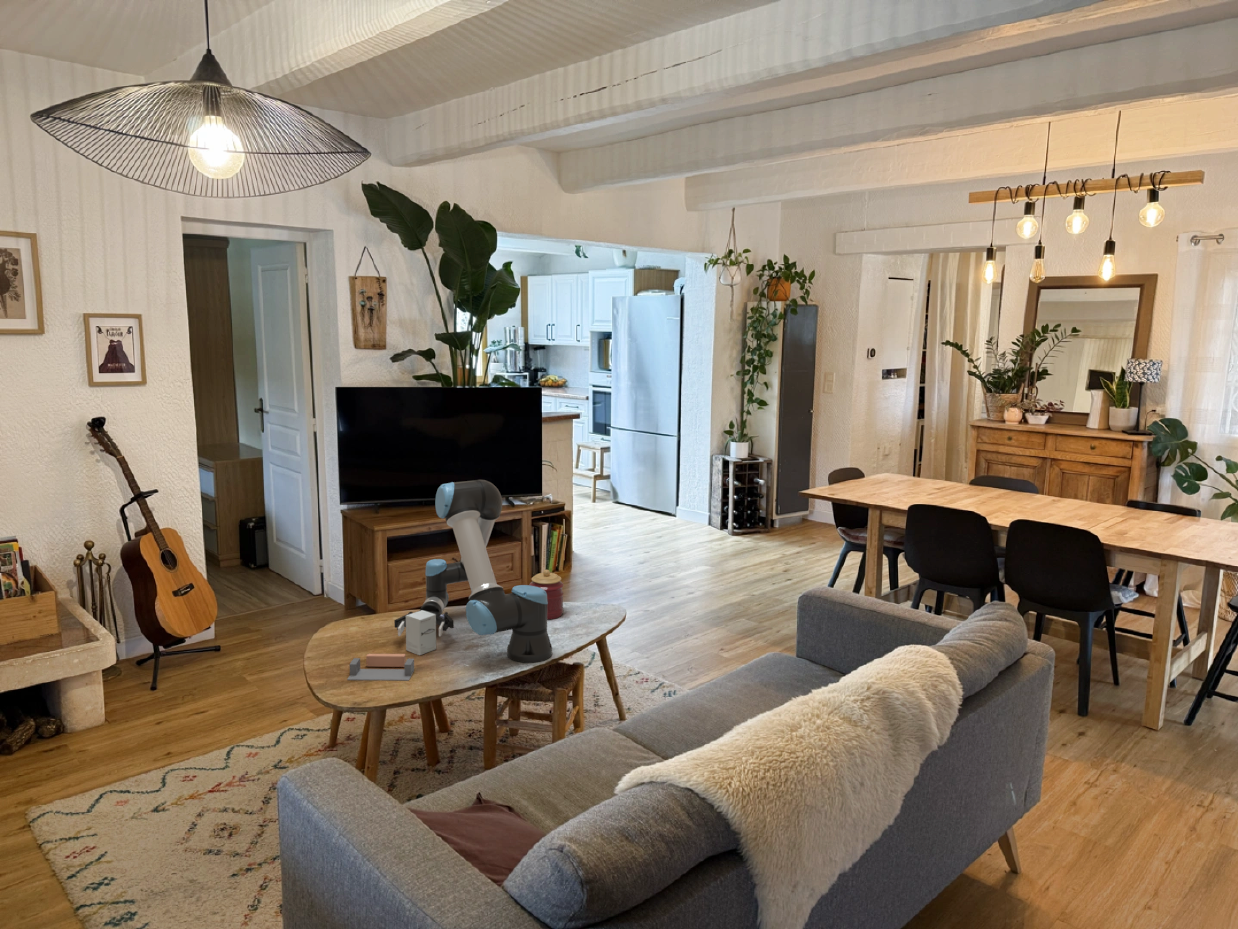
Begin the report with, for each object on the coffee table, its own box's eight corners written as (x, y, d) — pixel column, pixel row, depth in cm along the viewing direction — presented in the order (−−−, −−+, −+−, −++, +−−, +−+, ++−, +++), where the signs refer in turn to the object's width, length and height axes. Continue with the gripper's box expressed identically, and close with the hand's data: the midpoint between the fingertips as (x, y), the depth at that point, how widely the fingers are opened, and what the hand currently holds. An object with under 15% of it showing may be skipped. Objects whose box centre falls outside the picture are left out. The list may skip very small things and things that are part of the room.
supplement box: (419, 656, 280) (419, 620, 277) (405, 650, 284) (404, 615, 282) (437, 649, 285) (436, 614, 283) (422, 644, 290) (422, 609, 288)
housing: (354, 669, 268) (353, 658, 267) (414, 670, 268) (414, 658, 268) (347, 680, 260) (346, 668, 259) (409, 680, 261) (408, 668, 260)
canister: (567, 610, 326) (567, 566, 323) (557, 621, 314) (557, 576, 311) (535, 607, 329) (535, 563, 326) (524, 618, 317) (524, 573, 314)
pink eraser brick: (368, 664, 271) (367, 653, 271) (405, 664, 272) (405, 654, 271) (366, 666, 269) (366, 656, 269) (404, 666, 270) (404, 656, 269)
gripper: (466, 621, 304) (456, 643, 283) (396, 620, 303) (382, 642, 282) (466, 601, 303) (456, 622, 282) (396, 600, 302) (381, 621, 281)
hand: (419, 632), depth 282 cm, fingers open, 13 cm apart
